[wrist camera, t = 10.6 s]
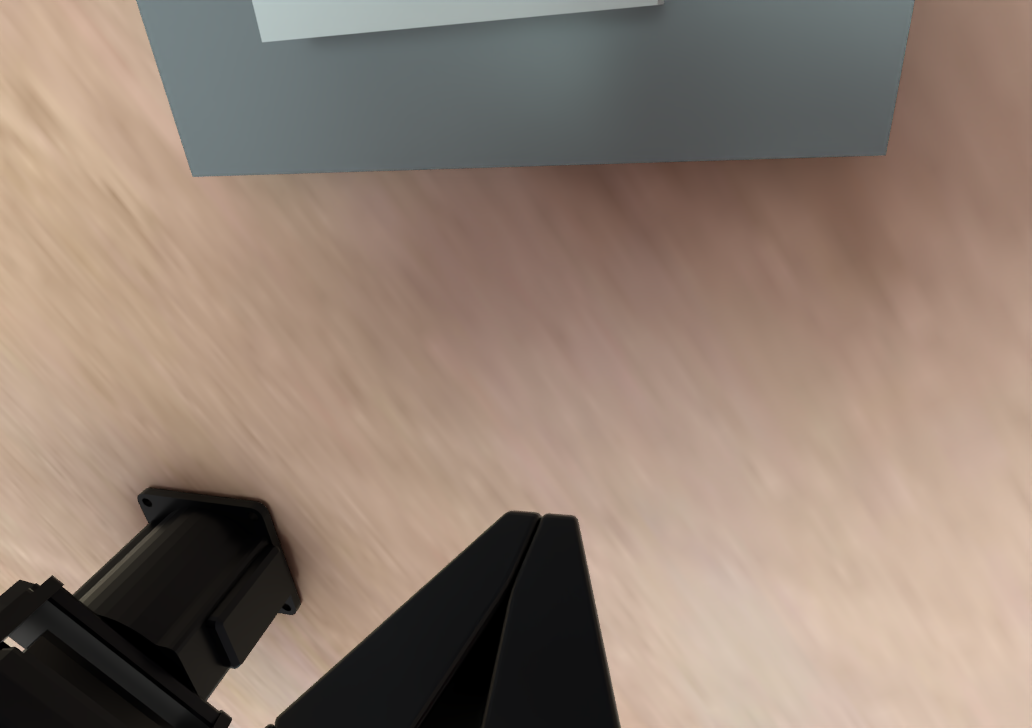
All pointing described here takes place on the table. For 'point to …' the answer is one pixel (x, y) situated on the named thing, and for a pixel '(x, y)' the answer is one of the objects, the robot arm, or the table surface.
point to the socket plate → (523, 81)
